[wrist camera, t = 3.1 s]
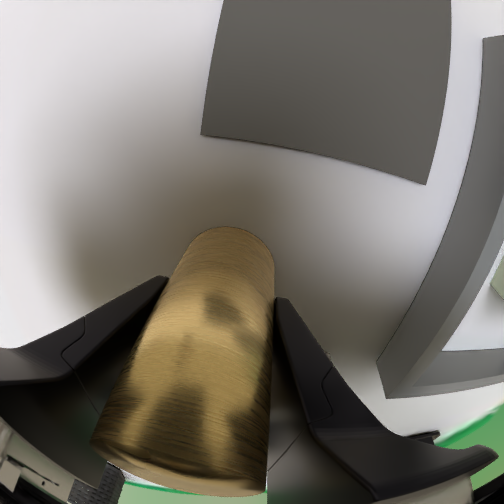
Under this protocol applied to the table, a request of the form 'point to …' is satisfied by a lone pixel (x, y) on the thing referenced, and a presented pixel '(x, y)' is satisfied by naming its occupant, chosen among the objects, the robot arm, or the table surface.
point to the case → (458, 265)
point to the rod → (200, 375)
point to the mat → (333, 78)
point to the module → (499, 279)
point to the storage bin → (99, 489)
